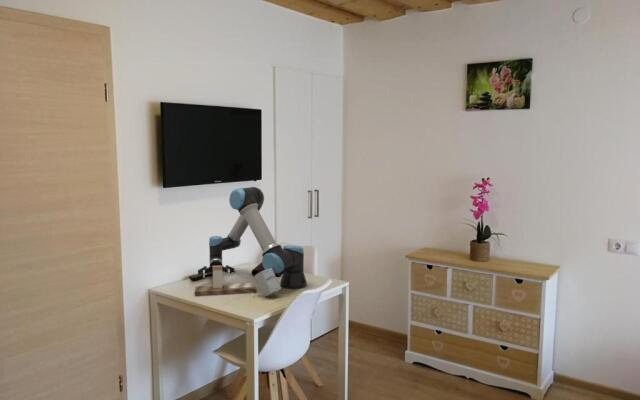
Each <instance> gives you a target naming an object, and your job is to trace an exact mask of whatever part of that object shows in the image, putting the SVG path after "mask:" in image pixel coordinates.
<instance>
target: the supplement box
mask: <svg viewBox="0 0 640 400" xmlns="http://www.w3.org/2000/svg"><path fill="white" fill-rule="evenodd" d="M254 277H255V279H256V281H257V284H258V287H259V289H260V291H261V293H262V295H263V297H267V296H270V295H272V294H274V293H277V292H279V291H280V290H281V289H282V287H281V286H280V282H279V281H278V278H277V277H276V276H275V274H274V272H273V269H272V268H269V269H267V270H264V271H261V272H260V273H258V274H257V275H254Z"/></svg>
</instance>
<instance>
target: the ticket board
mask: <svg viewBox="0 0 640 400" xmlns="http://www.w3.org/2000/svg"><path fill="white" fill-rule="evenodd" d="M222 287H223V288H213V285H203V286H202V285H201V286H199V285H198V286H195V288H194V296H195V297H206V296H223V295H224V296H225V295H238V294H239V295H241V294H243V295H244V294H255V293H256V294H257V293H258V288H257V284H256V282H244V283H242V282H241V283H228V284H222Z"/></svg>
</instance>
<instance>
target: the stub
mask: <svg viewBox="0 0 640 400" xmlns="http://www.w3.org/2000/svg"><path fill="white" fill-rule="evenodd" d="M222 265H223V264H222ZM222 265H220V266H213V272H212V286H213V288H223V287H222V285H223V272H222Z"/></svg>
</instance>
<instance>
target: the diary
mask: <svg viewBox="0 0 640 400" xmlns="http://www.w3.org/2000/svg"><path fill="white" fill-rule="evenodd" d="M262 262H263V261H262V260H261V262H259V264H258V265H256V266H255V267H254V268H253V269H252V270H251V277H254V276H255V275H257V274H258V273H260V272H261V271H264V270H265V269H264V267H263V264H262ZM282 275H283V272H281V273H276V274H275V276H276V278H280V277H282Z"/></svg>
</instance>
